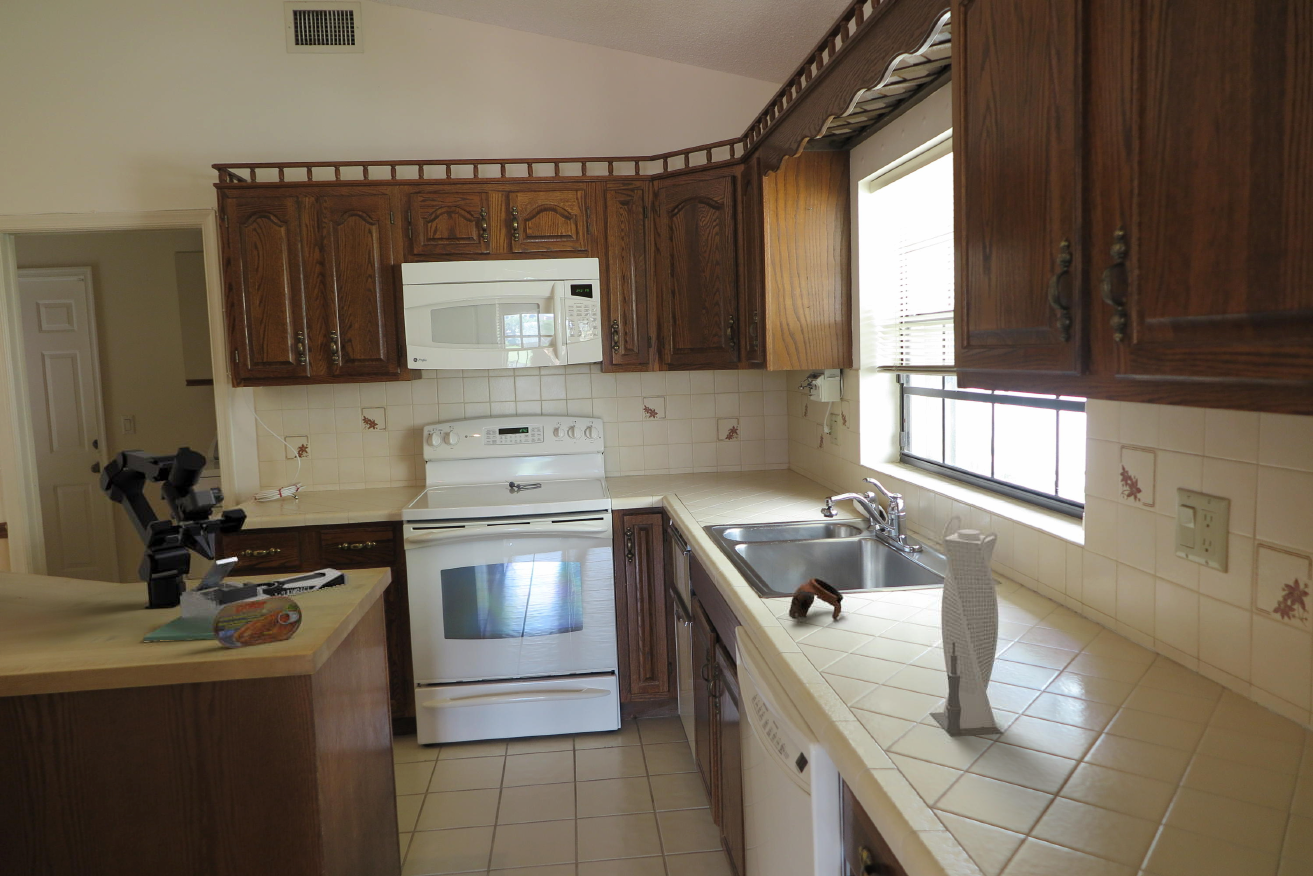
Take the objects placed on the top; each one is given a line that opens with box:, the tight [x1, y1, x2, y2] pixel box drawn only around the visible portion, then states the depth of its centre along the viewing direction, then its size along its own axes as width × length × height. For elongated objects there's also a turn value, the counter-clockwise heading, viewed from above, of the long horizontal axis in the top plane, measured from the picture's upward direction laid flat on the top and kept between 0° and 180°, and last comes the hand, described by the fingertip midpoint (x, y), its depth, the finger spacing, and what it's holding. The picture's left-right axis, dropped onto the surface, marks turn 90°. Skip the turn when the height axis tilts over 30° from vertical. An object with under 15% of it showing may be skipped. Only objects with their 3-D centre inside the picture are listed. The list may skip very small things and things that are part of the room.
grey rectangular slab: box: [195, 556, 239, 592], centre depth 167 cm, size 12×4×1 cm
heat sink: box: [180, 580, 266, 631], centre depth 166 cm, size 15×10×8 cm, turn 53°
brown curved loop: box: [788, 577, 844, 620], centre depth 158 cm, size 12×10×8 cm
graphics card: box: [256, 567, 350, 597], centre depth 191 cm, size 10×3×25 cm
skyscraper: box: [929, 515, 1004, 737], centre depth 110 cm, size 8×8×28 cm
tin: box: [213, 596, 303, 649], centre depth 154 cm, size 15×3×8 cm, turn 117°
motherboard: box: [143, 615, 217, 642], centre depth 167 cm, size 20×20×1 cm
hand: (212, 558), depth 168 cm, fingers closed
